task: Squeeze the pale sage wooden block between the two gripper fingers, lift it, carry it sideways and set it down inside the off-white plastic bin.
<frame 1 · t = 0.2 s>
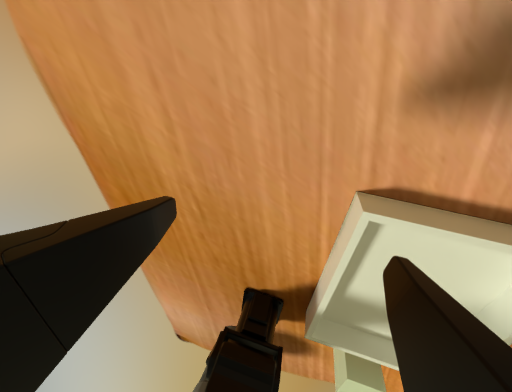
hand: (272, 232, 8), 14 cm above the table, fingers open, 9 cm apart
sage block: (353, 346, 33), on the table
beverage cup: (235, 331, 41), on the table
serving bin: (399, 284, 25), on the table
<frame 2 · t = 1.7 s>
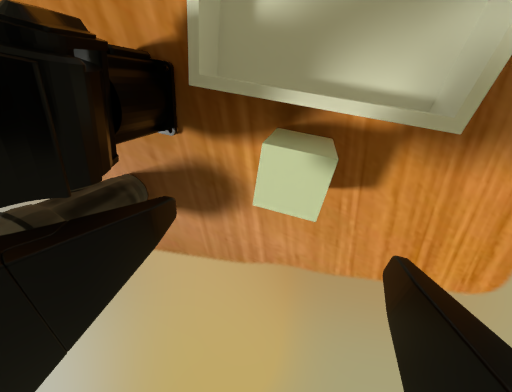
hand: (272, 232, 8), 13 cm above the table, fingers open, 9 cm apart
sage block: (297, 159, 20), on the table
beverage cup: (134, 189, 27), on the table
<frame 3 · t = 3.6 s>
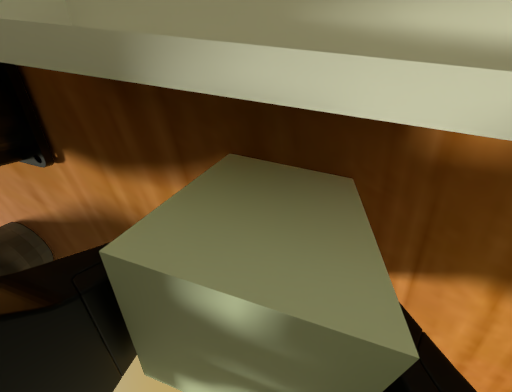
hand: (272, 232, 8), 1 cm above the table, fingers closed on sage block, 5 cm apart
sage block: (277, 215, 9), on the table, touching gripper
beverage cup: (33, 242, 17), on the table
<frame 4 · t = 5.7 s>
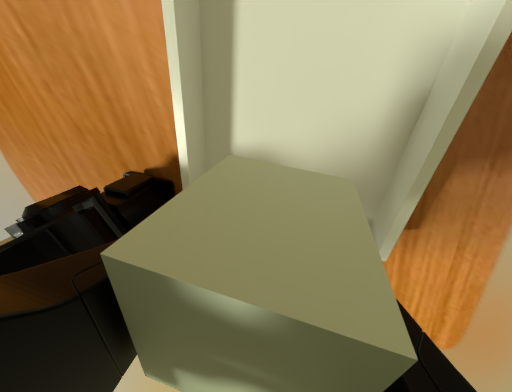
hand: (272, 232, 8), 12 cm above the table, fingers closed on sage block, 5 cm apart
sage block: (277, 216, 9), point 10 cm above the table, touching gripper
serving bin: (302, 97, 16), on the table
when the fingers open (4 cm above the table, at t = 7.8 s): sage block drops 2 cm, resting on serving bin.
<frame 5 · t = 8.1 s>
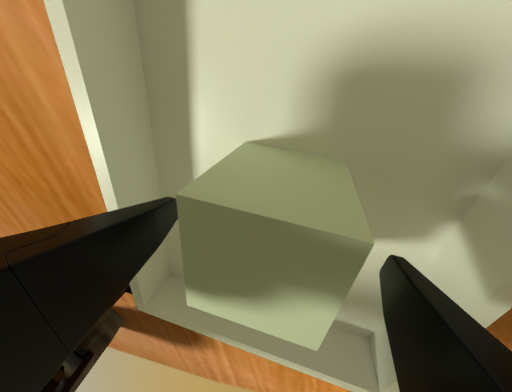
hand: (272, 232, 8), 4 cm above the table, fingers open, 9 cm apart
sage block: (284, 194, 11), point 1 cm above the table, touching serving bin
beverage cup: (109, 314, 28), on the table
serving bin: (287, 187, 12), on the table
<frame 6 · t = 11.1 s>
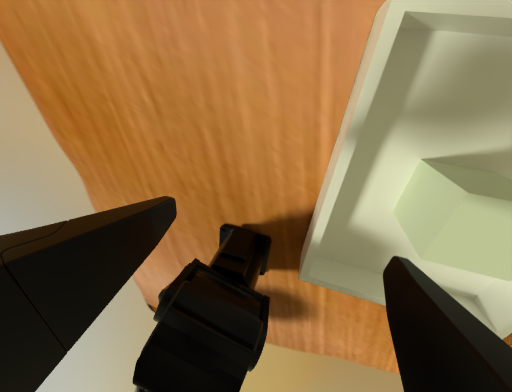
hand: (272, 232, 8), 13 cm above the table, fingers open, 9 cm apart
sage block: (438, 193, 17), point 1 cm above the table, touching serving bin
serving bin: (434, 189, 17), on the table
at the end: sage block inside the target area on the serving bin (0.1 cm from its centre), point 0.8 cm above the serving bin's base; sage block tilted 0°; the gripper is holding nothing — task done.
